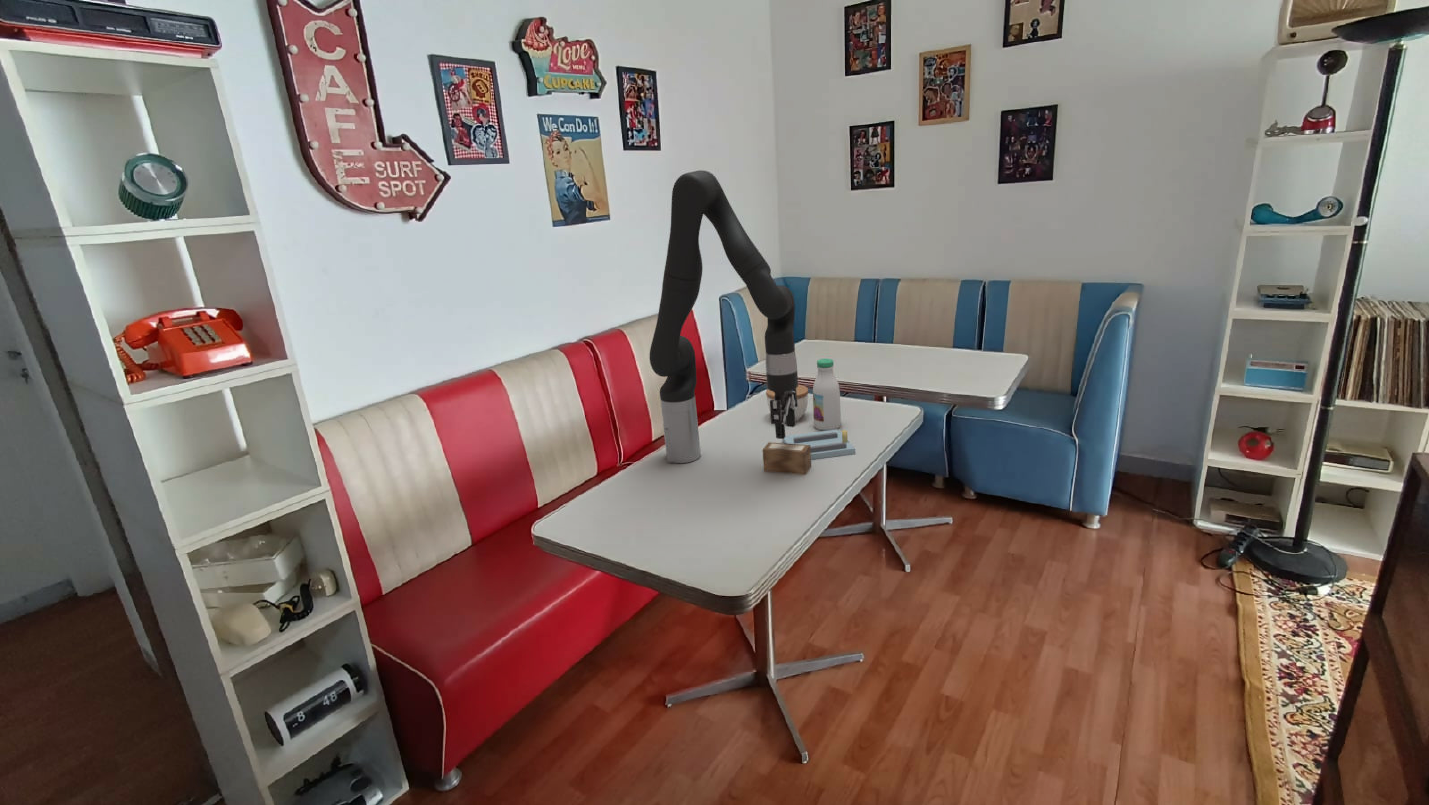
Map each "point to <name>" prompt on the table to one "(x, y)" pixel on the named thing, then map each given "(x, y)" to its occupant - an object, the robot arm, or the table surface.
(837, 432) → the light blue flat tray
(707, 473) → the table surface
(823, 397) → the milk bottle
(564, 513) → the table surface
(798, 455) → the wooden block
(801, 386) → the lidded bowl
